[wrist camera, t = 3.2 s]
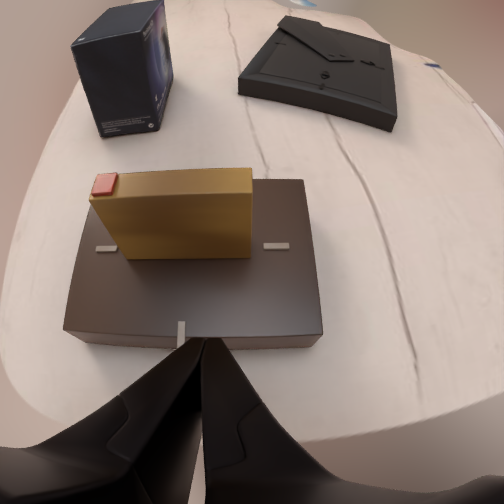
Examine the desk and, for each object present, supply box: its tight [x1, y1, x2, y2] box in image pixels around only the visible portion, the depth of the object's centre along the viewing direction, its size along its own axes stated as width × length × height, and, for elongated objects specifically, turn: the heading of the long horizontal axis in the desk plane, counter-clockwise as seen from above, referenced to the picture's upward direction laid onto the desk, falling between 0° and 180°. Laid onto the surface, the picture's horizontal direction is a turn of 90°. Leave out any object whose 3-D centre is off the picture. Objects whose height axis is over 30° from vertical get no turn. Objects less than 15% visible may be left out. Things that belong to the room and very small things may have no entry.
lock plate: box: [63, 179, 323, 349], centre depth 19 cm, size 14×11×3 cm
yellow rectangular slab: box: [89, 168, 253, 259], centre depth 15 cm, size 7×1×6 cm, turn 91°
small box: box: [70, 0, 173, 137], centre depth 24 cm, size 11×6×10 cm, turn 4°
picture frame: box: [238, 16, 397, 132], centre depth 32 cm, size 16×3×21 cm
